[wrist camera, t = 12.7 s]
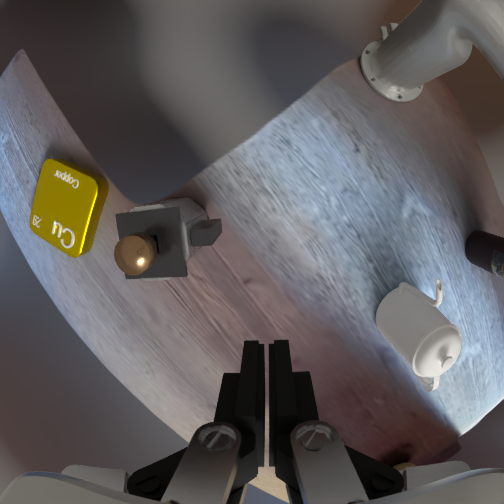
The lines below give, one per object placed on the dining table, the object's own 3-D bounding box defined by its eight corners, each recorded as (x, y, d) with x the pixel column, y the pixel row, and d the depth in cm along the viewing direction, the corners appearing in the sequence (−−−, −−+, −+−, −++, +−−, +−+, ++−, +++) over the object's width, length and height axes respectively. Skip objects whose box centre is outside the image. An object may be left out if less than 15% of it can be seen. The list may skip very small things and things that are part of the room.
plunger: (149, 210, 40) (99, 226, 26) (192, 206, 40) (156, 220, 25) (155, 254, 41) (110, 288, 27) (197, 251, 41) (166, 286, 27)
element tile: (113, 181, 44) (99, 182, 40) (90, 256, 48) (77, 262, 43) (58, 156, 43) (42, 155, 39) (40, 225, 47) (25, 229, 42)
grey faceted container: (153, 200, 45) (110, 209, 30) (222, 193, 44) (203, 198, 30) (160, 254, 47) (122, 283, 33) (227, 250, 46) (212, 280, 32)
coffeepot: (411, 237, 45) (477, 268, 27) (425, 346, 50) (469, 397, 32) (359, 259, 46) (410, 303, 28) (382, 366, 51) (416, 427, 33)
